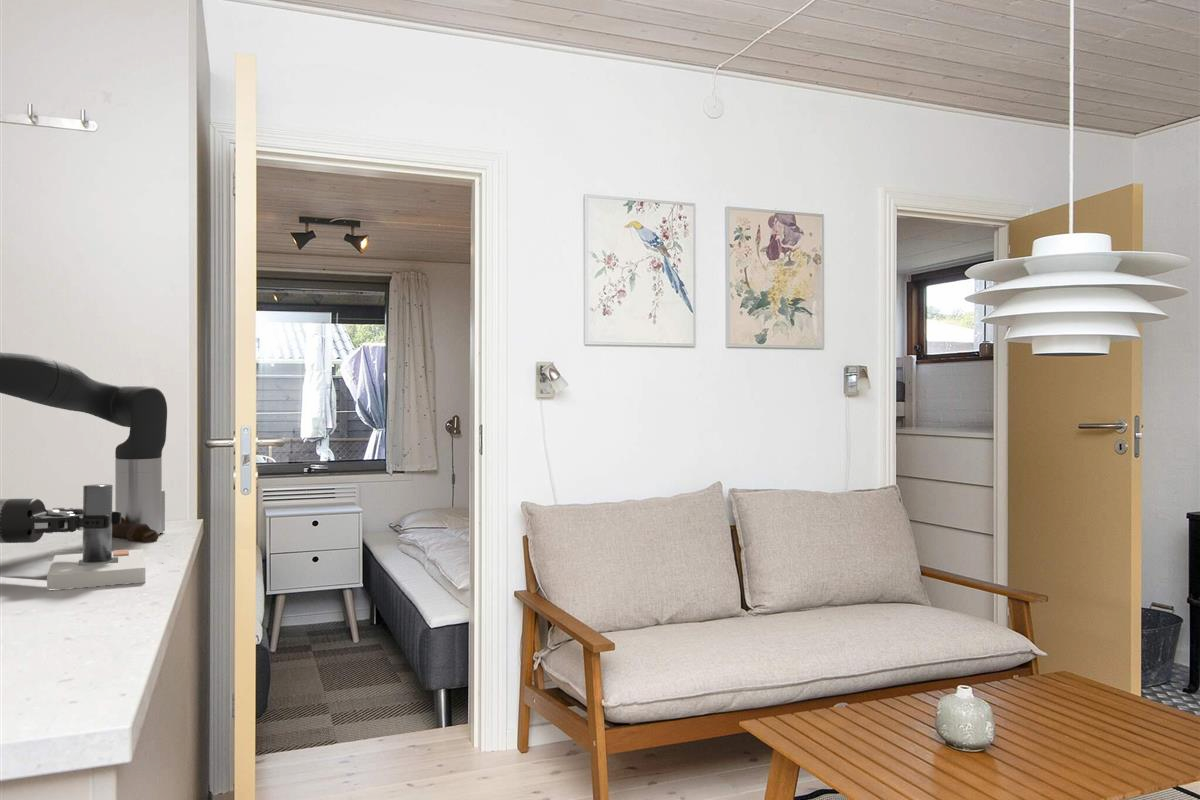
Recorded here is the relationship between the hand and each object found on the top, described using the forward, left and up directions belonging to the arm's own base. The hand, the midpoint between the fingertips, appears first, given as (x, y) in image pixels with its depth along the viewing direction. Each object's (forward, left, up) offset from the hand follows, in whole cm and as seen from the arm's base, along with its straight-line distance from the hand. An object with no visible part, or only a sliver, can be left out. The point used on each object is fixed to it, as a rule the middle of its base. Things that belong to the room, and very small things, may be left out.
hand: (114, 519), depth 154 cm
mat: (-10, -18, -10) cm, 23 cm away
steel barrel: (+1, -2, -7) cm, 8 cm away
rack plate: (+1, -2, -10) cm, 10 cm away
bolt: (-28, -24, -10) cm, 38 cm away
